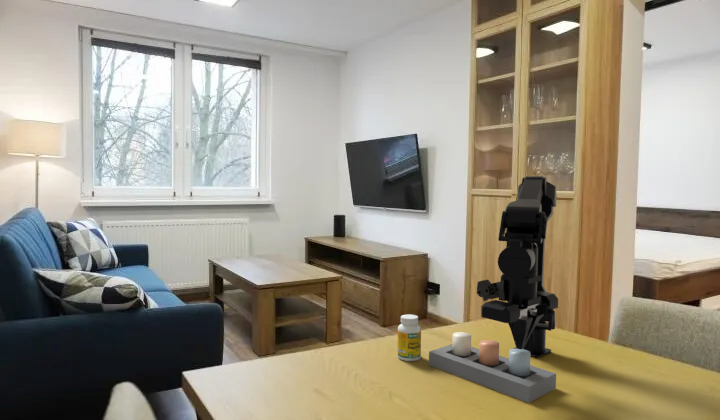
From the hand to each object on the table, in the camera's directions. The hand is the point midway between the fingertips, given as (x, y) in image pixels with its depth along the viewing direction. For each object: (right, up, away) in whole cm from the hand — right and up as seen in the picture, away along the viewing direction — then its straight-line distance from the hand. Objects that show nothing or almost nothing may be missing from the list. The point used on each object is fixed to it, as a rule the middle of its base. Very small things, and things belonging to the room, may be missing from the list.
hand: (519, 348), depth 93 cm
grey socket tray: (-5, -7, +6) cm, 10 cm away
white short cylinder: (-9, -4, +11) cm, 15 cm away
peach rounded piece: (-5, -4, +5) cm, 8 cm away
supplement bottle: (-20, -7, +16) cm, 27 cm away
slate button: (0, -5, 0) cm, 5 cm away
